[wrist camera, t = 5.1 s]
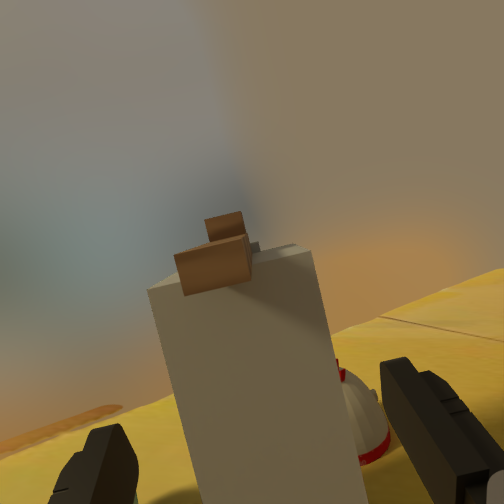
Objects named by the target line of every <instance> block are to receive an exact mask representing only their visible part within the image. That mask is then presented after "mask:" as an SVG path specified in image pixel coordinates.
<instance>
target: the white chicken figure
mask: <svg viewBox="0 0 504 504" xmlns="http://www.w3.org/2000/svg"><path fill="white" fill-rule="evenodd" d="M336 363H337V367H338V371H339V376H340V380H341V385H342V389H343V393H344V398H345V402H346V406H347V411H348V415H349V420H350V424H351V428H352V433H353V437H354V441H355V446H356V450H357V455H358V459H359V463H360V466H363V465H366V464H369V463H371V462H373V461H375V460H376V459H378V458H379V457H381V456H382V455H383V454H384V452H385V451H386V450H387V449H388V446H389V444H390V441H391V440H390V432H389V427H388V423H387V420H386V417H385V415H384V413H383V411H382V409H381V407H380V406H379V404H378V396H377V393H376V391H375V390H374V389H372V390H369V388H368V387H367V386H366V385H365V384H364V383H363V382H362V381H361V380H360V379H359V378H358V377H357V376H356V375H354V374H353V373H351V372H349V371H348V370H346V369H344V368H341V367H339V364H338V359H336Z"/></svg>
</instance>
